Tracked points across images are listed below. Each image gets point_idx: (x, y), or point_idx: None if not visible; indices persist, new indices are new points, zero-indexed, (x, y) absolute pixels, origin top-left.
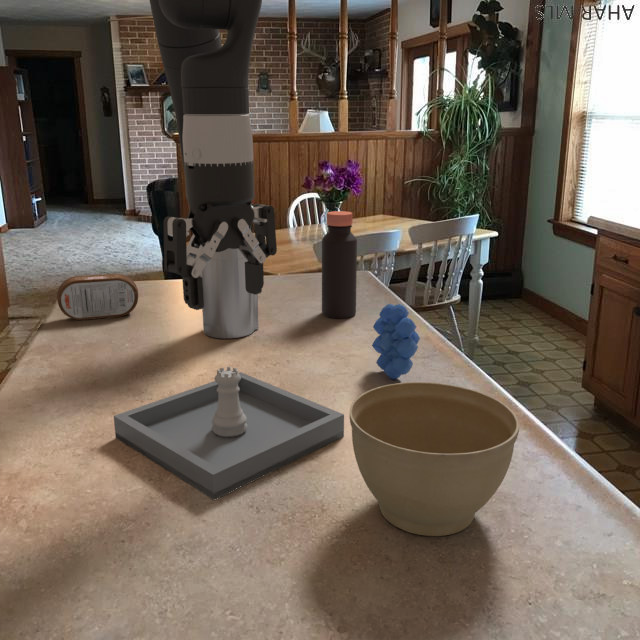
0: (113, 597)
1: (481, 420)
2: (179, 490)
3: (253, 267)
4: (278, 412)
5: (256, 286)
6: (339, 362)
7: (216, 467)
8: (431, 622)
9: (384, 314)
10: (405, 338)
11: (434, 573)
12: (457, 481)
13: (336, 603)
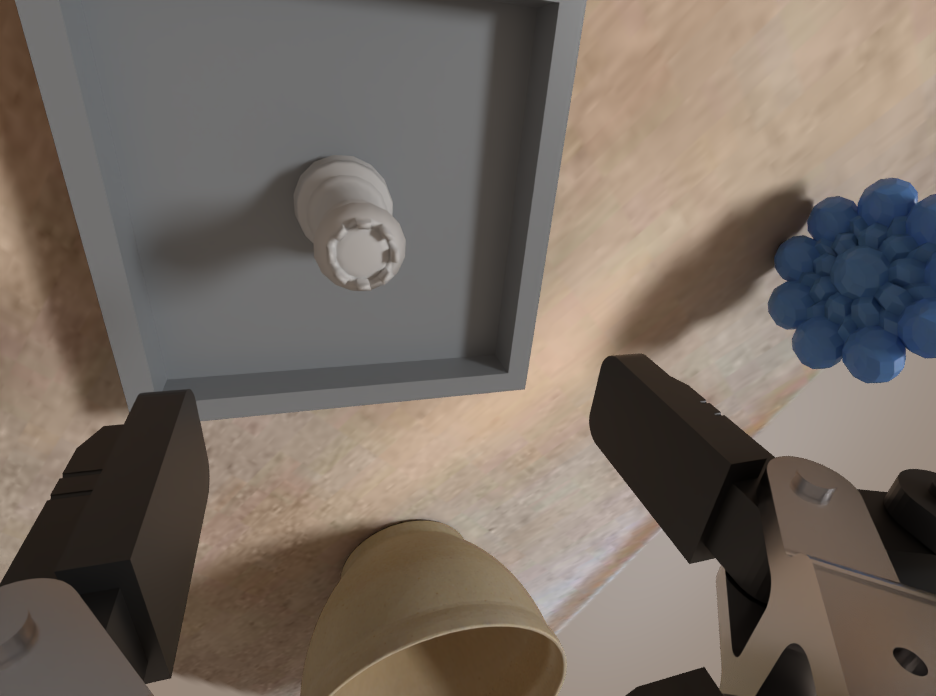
0: None
1: (534, 650)
2: (96, 319)
3: (685, 520)
4: (495, 213)
5: (611, 455)
6: (839, 72)
7: None
8: (241, 679)
9: None
10: (842, 346)
11: (307, 637)
12: None
13: None
